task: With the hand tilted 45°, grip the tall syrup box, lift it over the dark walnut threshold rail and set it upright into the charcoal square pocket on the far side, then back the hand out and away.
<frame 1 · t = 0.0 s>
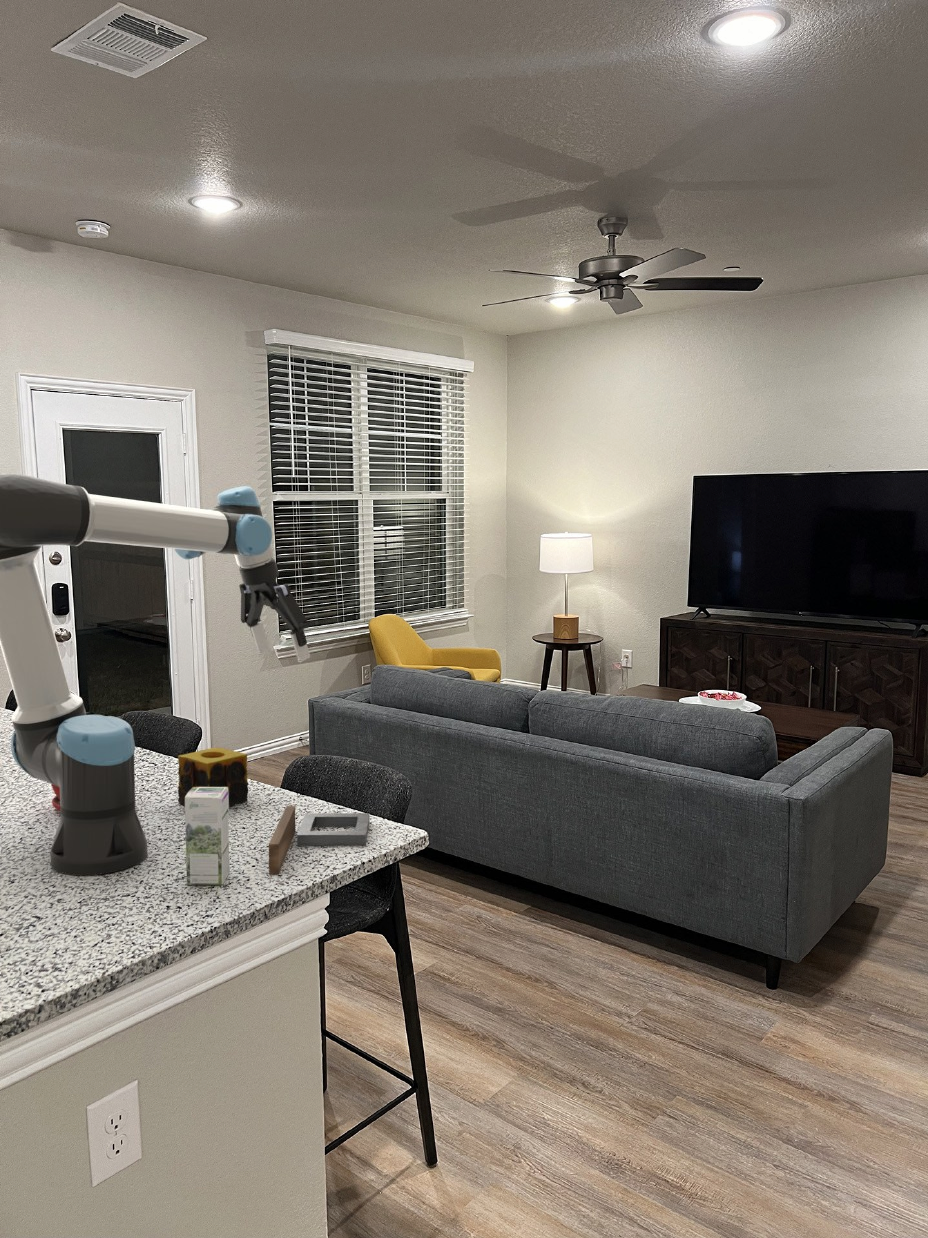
hand: (284, 656, 199), 28 cm above the worktop, tool tilted 20°, fingers open, 13 cm apart
syrup box: (208, 880, 149), on the worktop
plant pot: (86, 808, 184), on the worktop
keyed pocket: (334, 834, 171), on the worktop
threshold rail: (283, 852, 161), on the worktop
candle: (213, 804, 188), on the worktop
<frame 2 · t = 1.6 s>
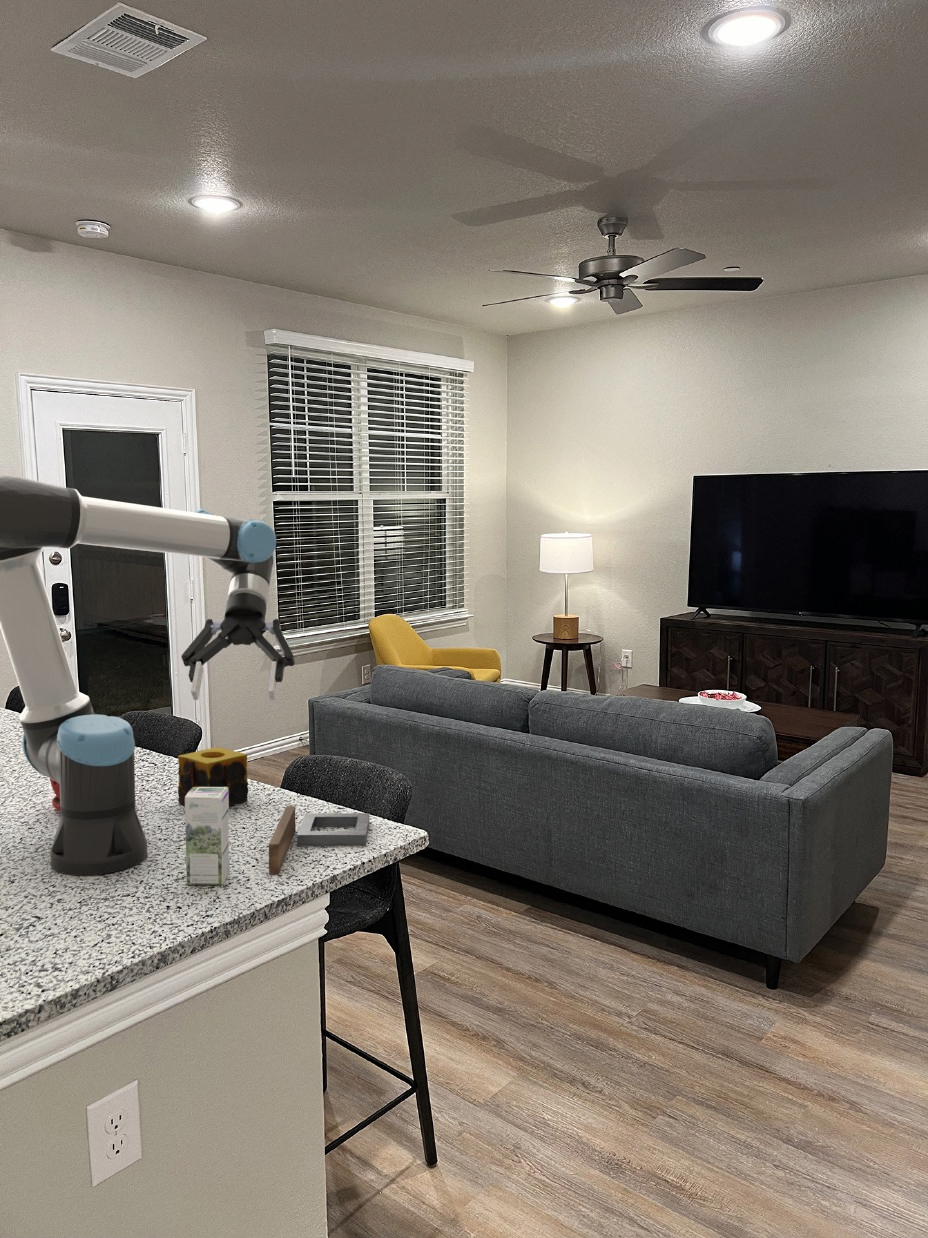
hand: (233, 695, 167), 26 cm above the worktop, tool tilted 45°, fingers open, 13 cm apart
nothing on the worktop moved.
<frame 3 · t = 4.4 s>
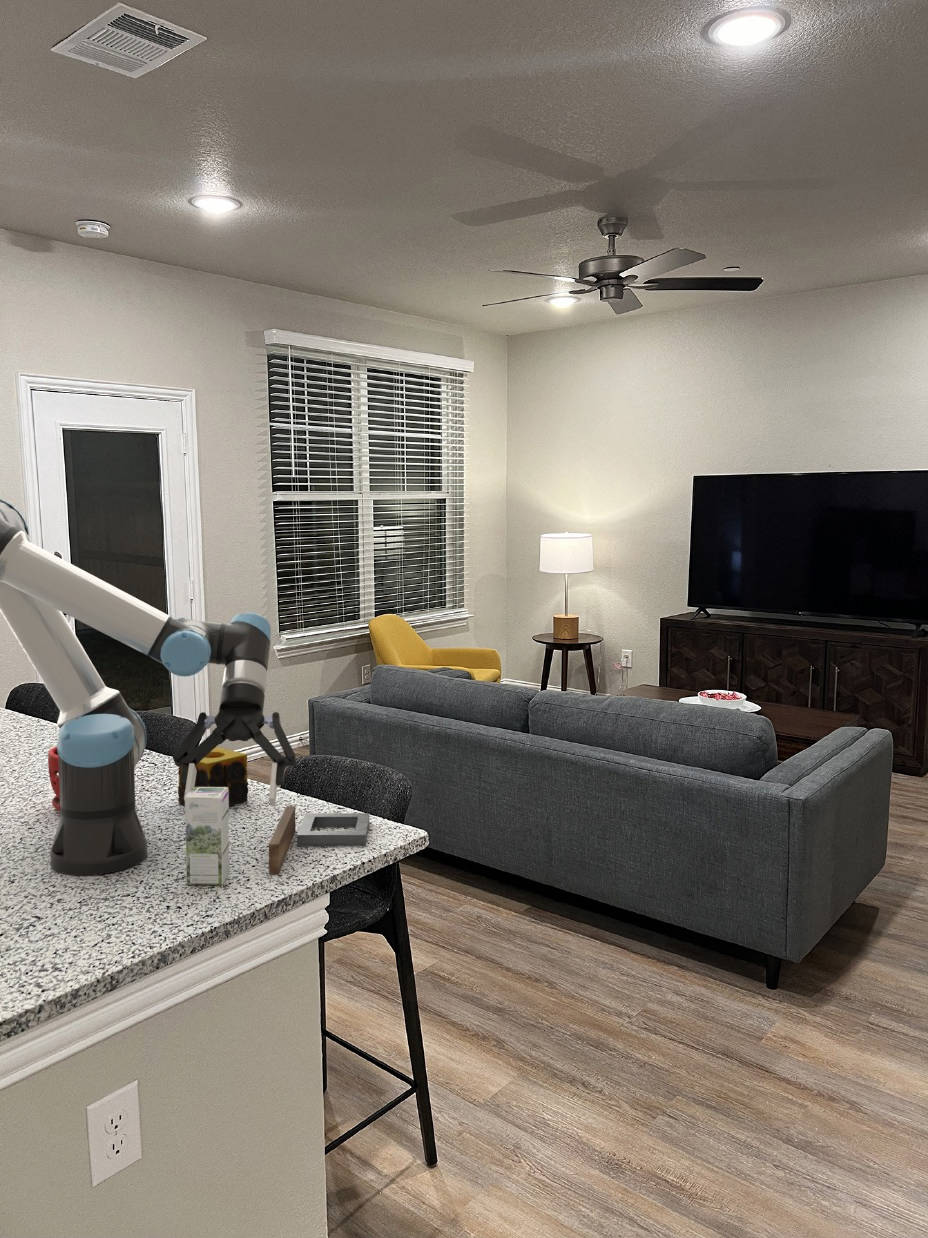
hand: (230, 802, 153), 11 cm above the worktop, tool tilted 45°, fingers open, 13 cm apart
nothing on the worktop moved.
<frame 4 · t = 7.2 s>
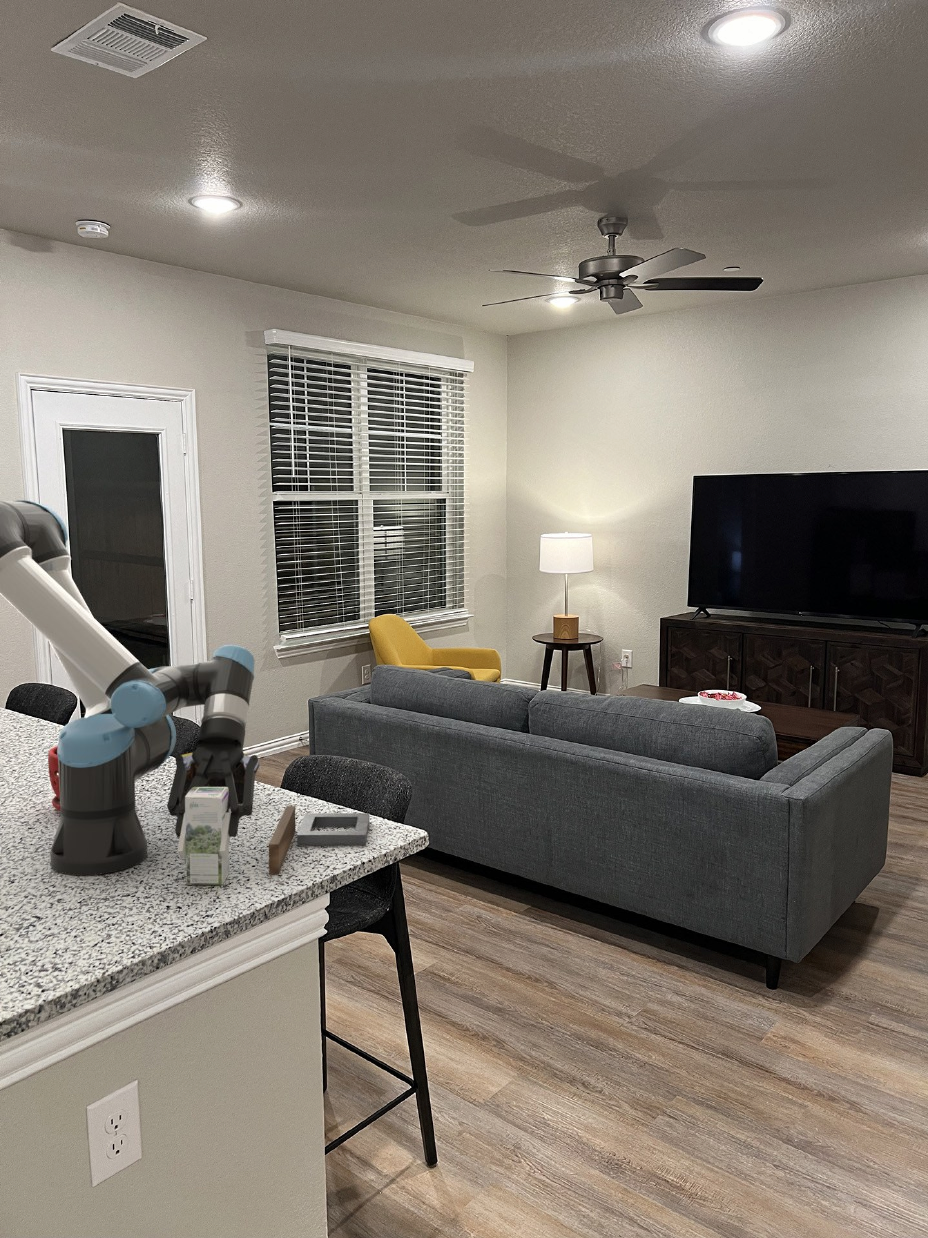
hand: (202, 854, 145), 5 cm above the worktop, tool tilted 45°, fingers closed on syrup box, 6 cm apart
syrup box: (208, 880, 149), on the worktop, touching gripper
everything else where it was.
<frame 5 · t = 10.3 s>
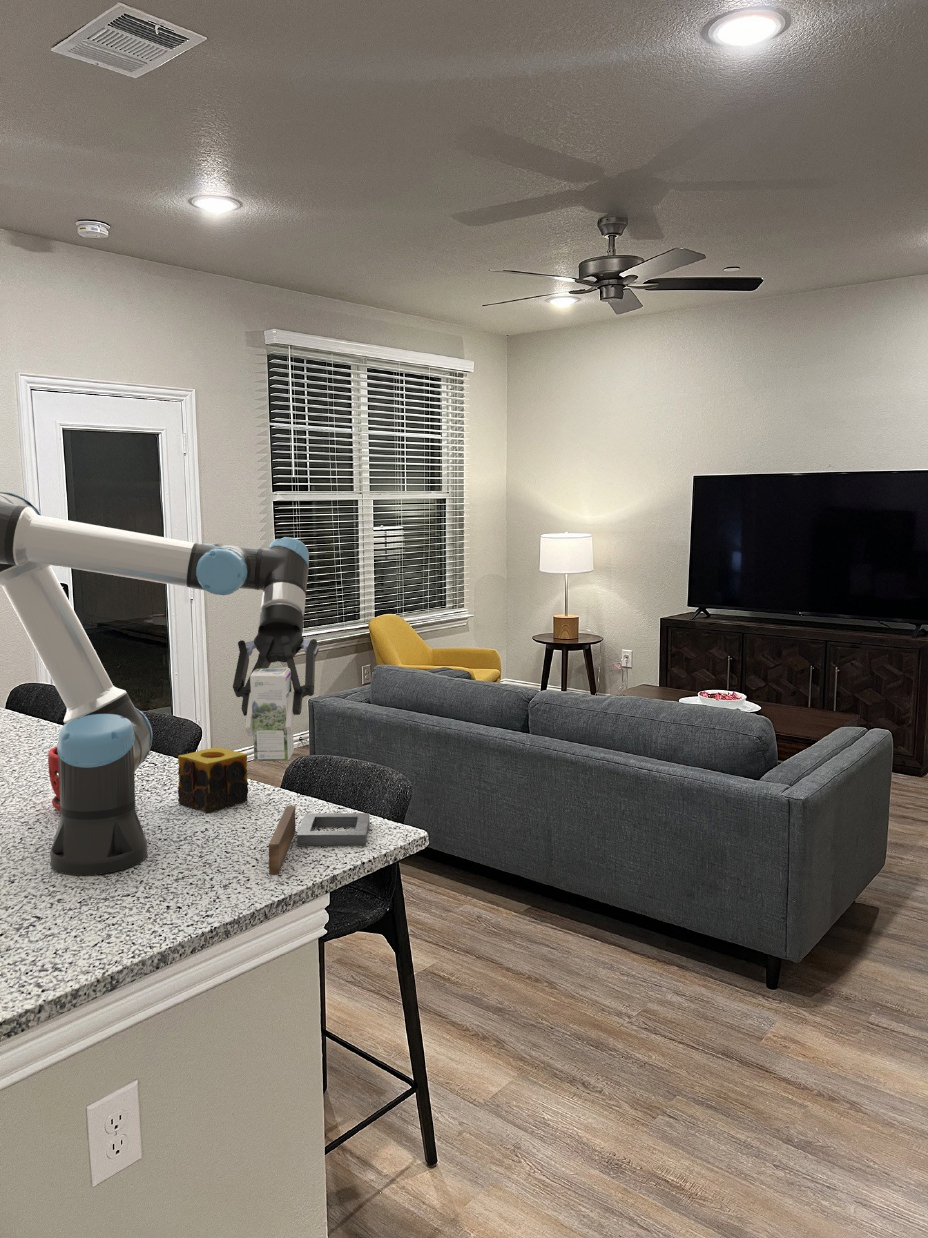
hand: (269, 731, 150), 23 cm above the worktop, tool tilted 45°, fingers closed on syrup box, 6 cm apart
syrup box: (274, 757, 155), point 18 cm above the worktop, touching gripper
everything else where it was.
when the fingers open (7 cm above the worktop, at t = 13.4 s): syrup box drops 1 cm, resting in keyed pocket.
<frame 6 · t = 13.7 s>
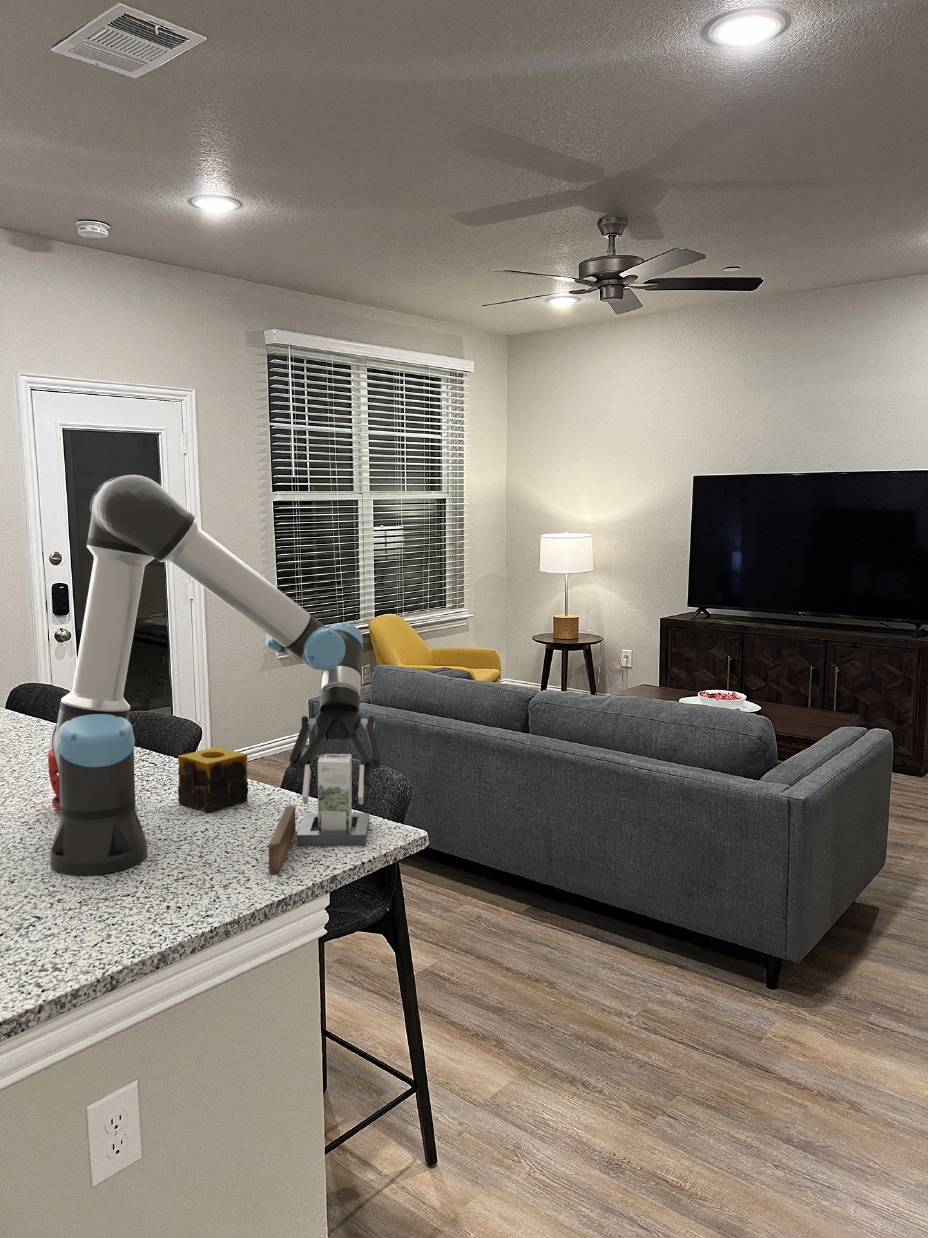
hand: (332, 800, 167), 7 cm above the worktop, tool tilted 45°, fingers open, 9 cm apart
syrup box: (335, 835, 171), resting in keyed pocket
everything else where it was.
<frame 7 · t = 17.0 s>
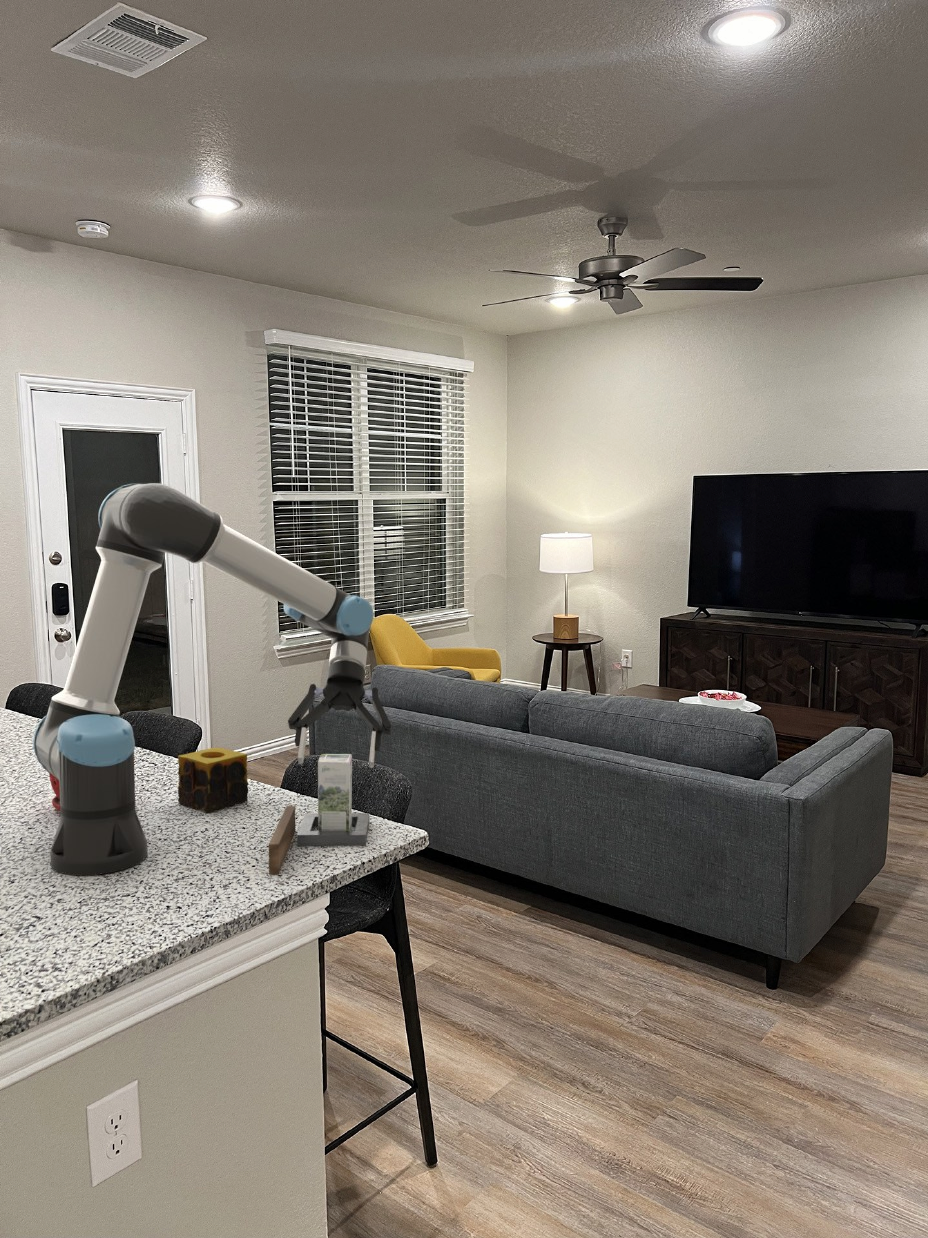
hand: (335, 763, 180), 10 cm above the worktop, tool tilted 40°, fingers open, 13 cm apart
nothing on the worktop moved.
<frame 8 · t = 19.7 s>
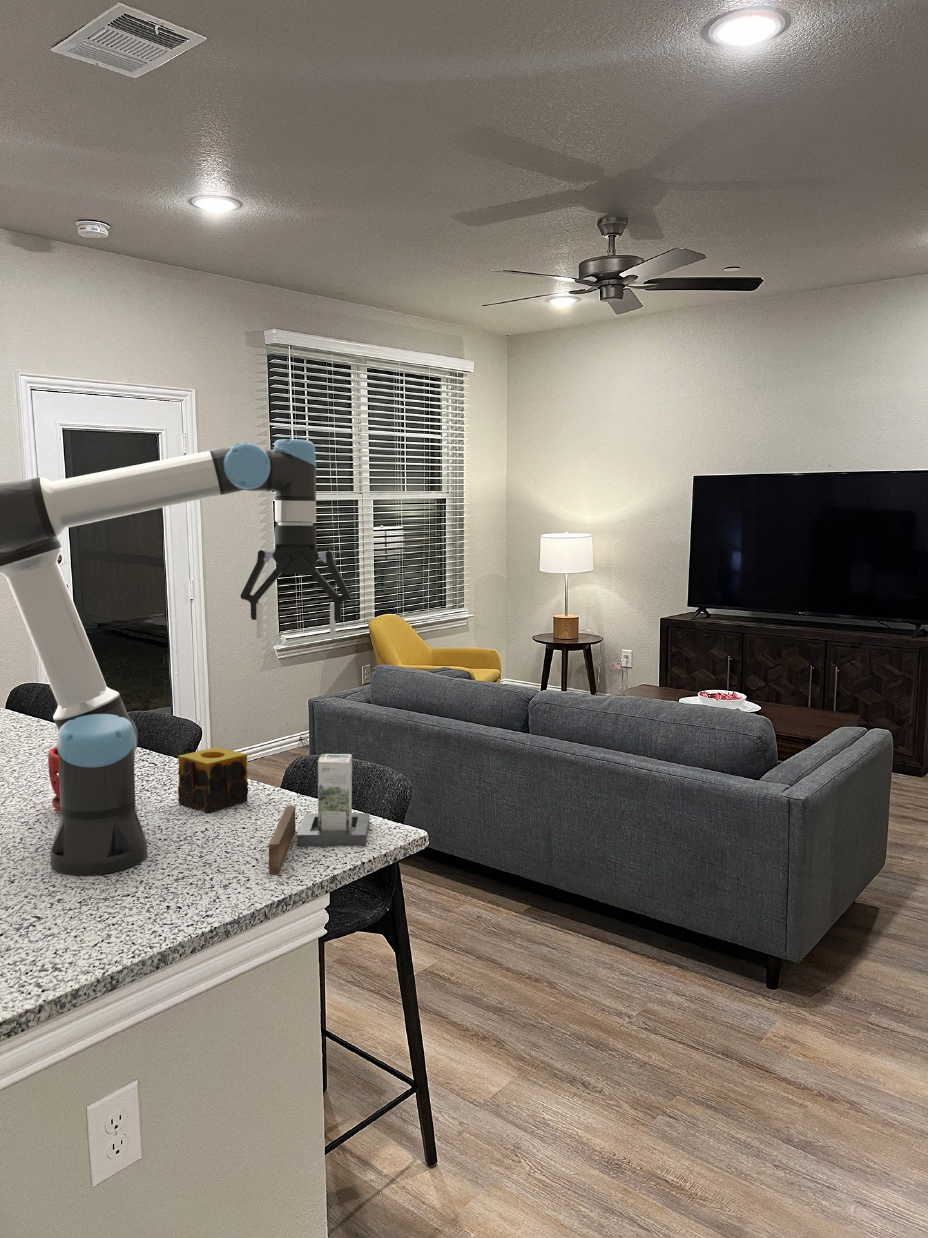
hand: (296, 637, 177), 35 cm above the worktop, tool pointing down, fingers open, 13 cm apart
nothing on the worktop moved.
at the end: syrup box 0.1 cm off-centre on the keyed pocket, point 0.0 cm above the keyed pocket's base; syrup box tilted 0°; the gripper is holding nothing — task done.
